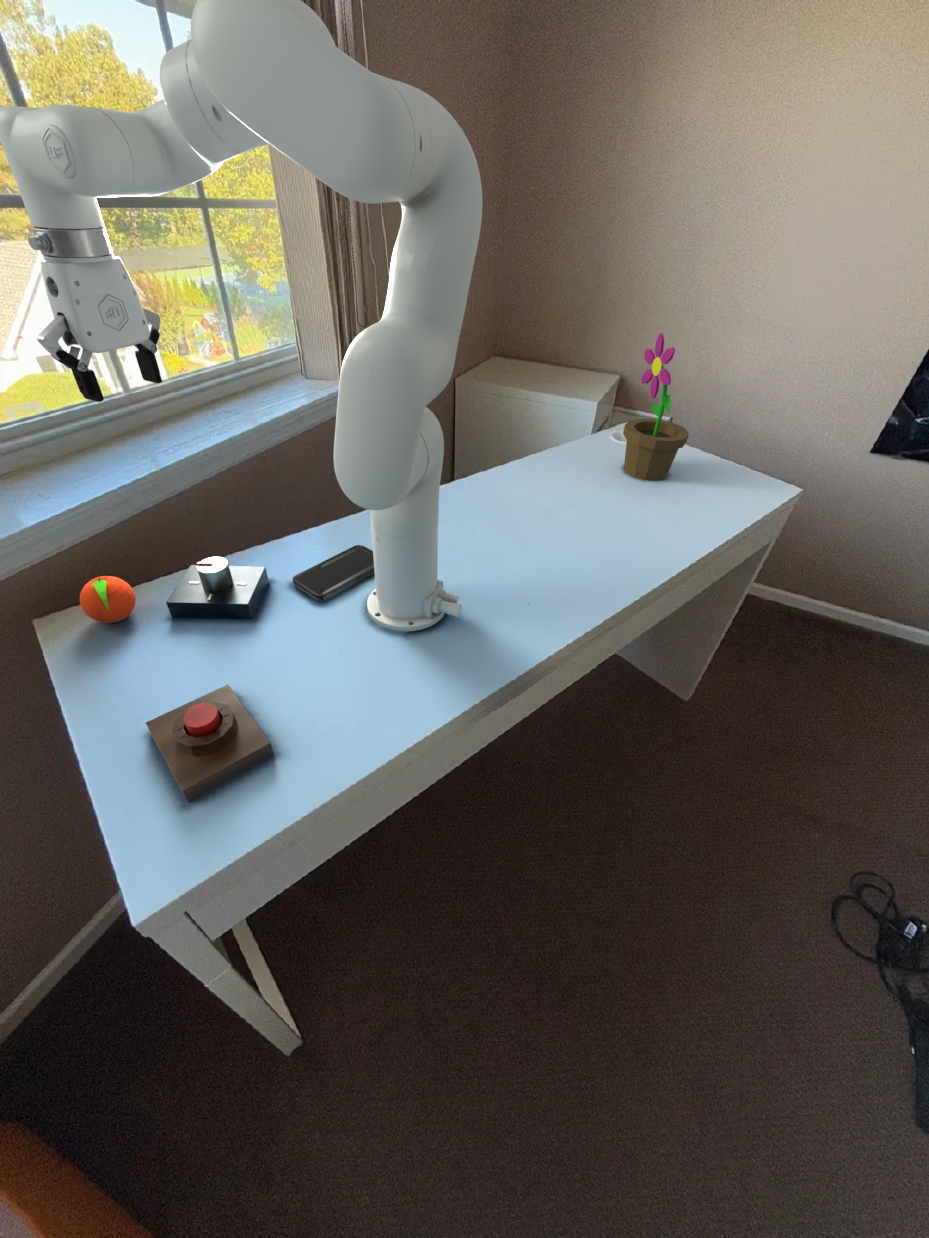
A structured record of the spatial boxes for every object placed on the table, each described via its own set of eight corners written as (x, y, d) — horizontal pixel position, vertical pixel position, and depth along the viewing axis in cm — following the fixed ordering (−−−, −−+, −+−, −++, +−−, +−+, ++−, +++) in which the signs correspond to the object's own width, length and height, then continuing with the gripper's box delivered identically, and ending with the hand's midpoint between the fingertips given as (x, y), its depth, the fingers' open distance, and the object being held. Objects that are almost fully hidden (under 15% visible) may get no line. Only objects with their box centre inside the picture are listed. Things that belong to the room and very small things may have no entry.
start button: (226, 726, 63) (222, 716, 62) (194, 742, 61) (190, 732, 60) (213, 708, 65) (209, 698, 64) (182, 723, 63) (178, 713, 62)
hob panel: (268, 581, 91) (265, 565, 89) (252, 619, 83) (247, 603, 81) (195, 579, 90) (190, 563, 88) (171, 618, 83) (165, 601, 81)
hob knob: (236, 575, 87) (231, 555, 84) (227, 592, 83) (221, 571, 81) (208, 574, 86) (202, 554, 84) (198, 591, 83) (191, 570, 81)
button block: (274, 754, 64) (267, 732, 62) (188, 802, 59) (177, 781, 57) (232, 695, 71) (224, 674, 69) (151, 734, 66) (140, 712, 63)
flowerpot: (605, 460, 136) (634, 326, 116) (657, 457, 139) (693, 326, 119) (632, 486, 125) (669, 343, 106) (687, 482, 128) (733, 342, 109)
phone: (388, 560, 95) (319, 597, 86) (389, 565, 96) (320, 603, 87) (358, 543, 99) (289, 577, 90) (359, 548, 100) (290, 583, 90)
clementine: (147, 627, 81) (130, 588, 76) (93, 642, 78) (73, 603, 73) (138, 598, 86) (122, 561, 81) (88, 612, 83) (68, 573, 78)
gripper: (26, 254, 59) (88, 413, 70) (156, 243, 72) (191, 379, 83) (-18, 248, 62) (48, 402, 72) (115, 238, 74) (155, 371, 85)
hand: (124, 390), depth 78 cm, fingers open, 9 cm apart
